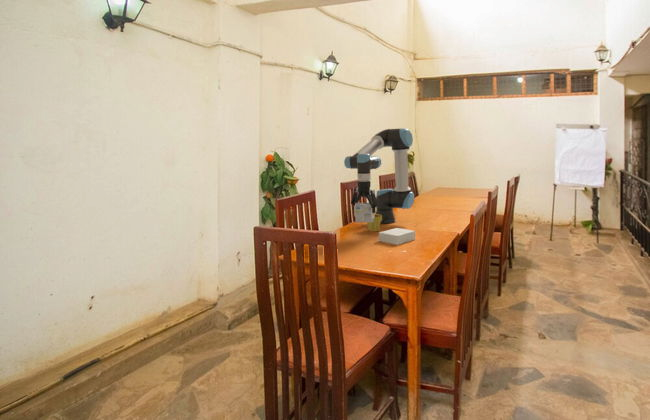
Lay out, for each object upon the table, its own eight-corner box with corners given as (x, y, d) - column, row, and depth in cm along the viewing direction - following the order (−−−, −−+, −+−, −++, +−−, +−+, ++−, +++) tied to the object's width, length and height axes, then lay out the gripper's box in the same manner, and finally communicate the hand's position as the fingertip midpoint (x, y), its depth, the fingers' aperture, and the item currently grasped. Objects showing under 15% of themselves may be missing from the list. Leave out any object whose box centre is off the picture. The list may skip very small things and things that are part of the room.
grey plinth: (378, 241, 229) (378, 232, 228) (396, 236, 241) (396, 227, 240) (397, 244, 220) (397, 235, 219) (415, 239, 232) (415, 230, 231)
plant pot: (377, 232, 251) (377, 217, 249) (362, 231, 256) (362, 216, 255) (384, 229, 259) (384, 214, 258) (369, 228, 265) (369, 213, 263)
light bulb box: (373, 220, 239) (373, 202, 237) (373, 222, 233) (373, 204, 231) (355, 220, 240) (355, 202, 238) (355, 222, 234) (354, 204, 232)
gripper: (344, 180, 238) (345, 215, 242) (376, 182, 221) (376, 220, 225) (352, 179, 243) (353, 214, 247) (384, 181, 226) (384, 218, 230)
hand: (364, 217), depth 236 cm, fingers closed on light bulb box, 12 cm apart
